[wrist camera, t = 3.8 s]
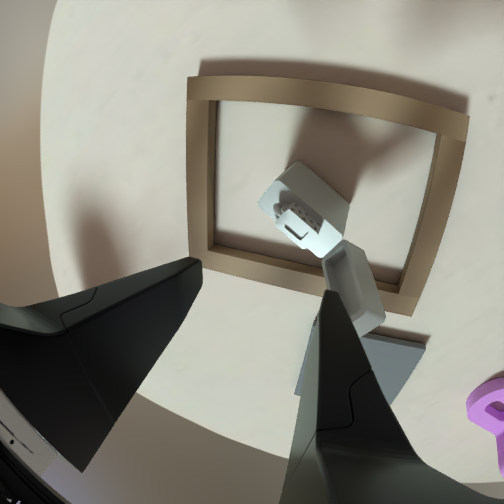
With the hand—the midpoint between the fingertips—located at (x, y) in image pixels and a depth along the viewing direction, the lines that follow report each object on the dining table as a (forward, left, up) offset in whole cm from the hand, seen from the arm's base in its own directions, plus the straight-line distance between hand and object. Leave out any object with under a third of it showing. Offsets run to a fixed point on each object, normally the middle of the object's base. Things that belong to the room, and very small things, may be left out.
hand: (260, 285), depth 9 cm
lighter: (-1, +1, -10) cm, 10 cm away
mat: (-6, +14, -10) cm, 18 cm away
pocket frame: (0, 0, -10) cm, 10 cm away
